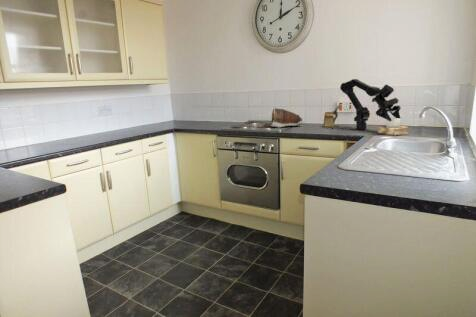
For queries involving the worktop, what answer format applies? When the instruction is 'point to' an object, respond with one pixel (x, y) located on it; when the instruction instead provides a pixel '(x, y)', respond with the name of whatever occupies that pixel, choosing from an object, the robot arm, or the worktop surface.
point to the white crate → (393, 123)
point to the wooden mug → (330, 118)
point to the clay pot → (284, 118)
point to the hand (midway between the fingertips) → (395, 120)
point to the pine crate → (393, 130)
